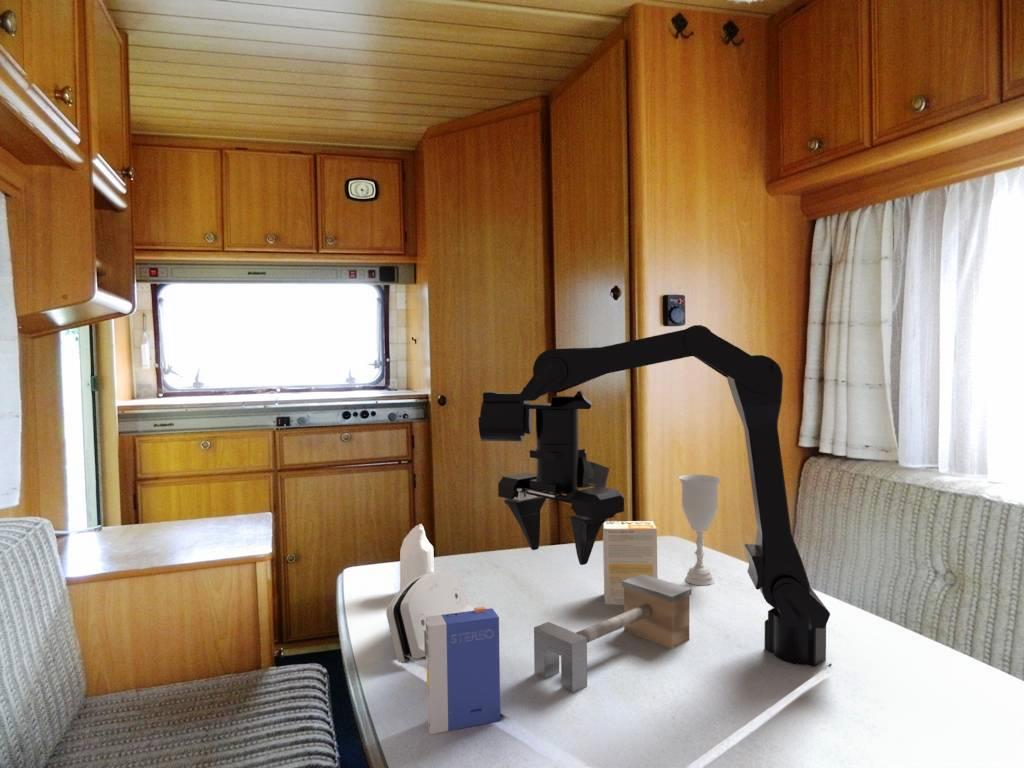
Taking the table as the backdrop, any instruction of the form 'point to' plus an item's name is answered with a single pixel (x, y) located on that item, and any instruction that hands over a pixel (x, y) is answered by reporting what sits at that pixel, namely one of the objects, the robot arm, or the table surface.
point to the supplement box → (627, 555)
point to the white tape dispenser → (423, 609)
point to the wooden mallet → (649, 612)
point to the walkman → (462, 669)
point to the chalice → (699, 518)
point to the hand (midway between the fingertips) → (558, 556)
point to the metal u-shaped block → (568, 646)
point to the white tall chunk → (415, 556)
